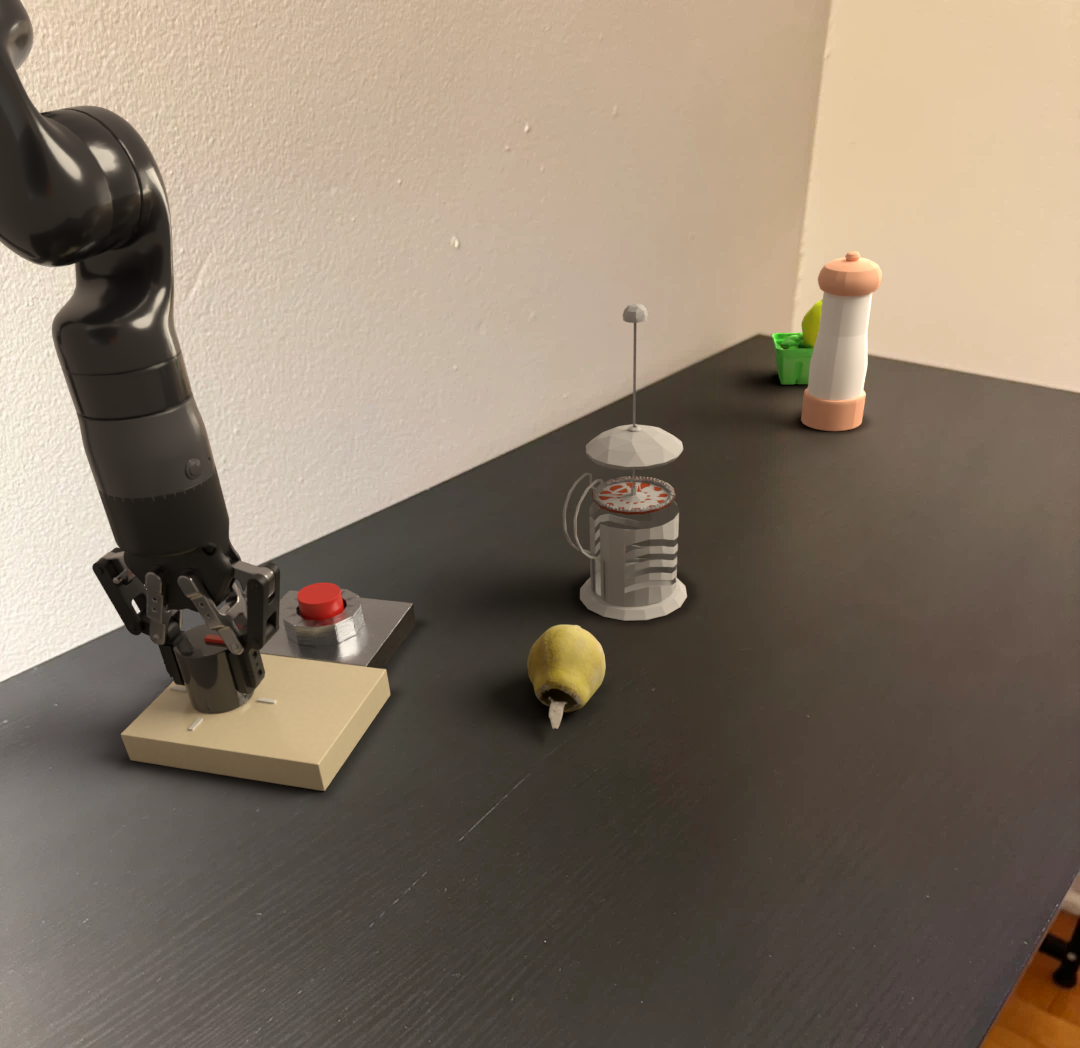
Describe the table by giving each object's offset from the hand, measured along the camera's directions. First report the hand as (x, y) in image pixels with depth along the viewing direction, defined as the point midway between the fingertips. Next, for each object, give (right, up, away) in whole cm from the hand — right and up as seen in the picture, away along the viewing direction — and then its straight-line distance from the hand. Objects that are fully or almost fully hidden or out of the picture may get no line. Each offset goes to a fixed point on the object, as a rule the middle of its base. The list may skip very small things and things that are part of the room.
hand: (218, 682), depth 74 cm
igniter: (+6, +3, +10) cm, 12 cm away
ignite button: (+6, +6, +8) cm, 12 cm away
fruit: (+26, -2, +2) cm, 27 cm away
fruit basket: (+61, +43, +59) cm, 95 cm away
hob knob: (0, -1, +1) cm, 1 cm away
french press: (+32, +8, +15) cm, 36 cm away
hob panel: (+3, -3, +1) cm, 5 cm away
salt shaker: (+60, +34, +47) cm, 83 cm away
